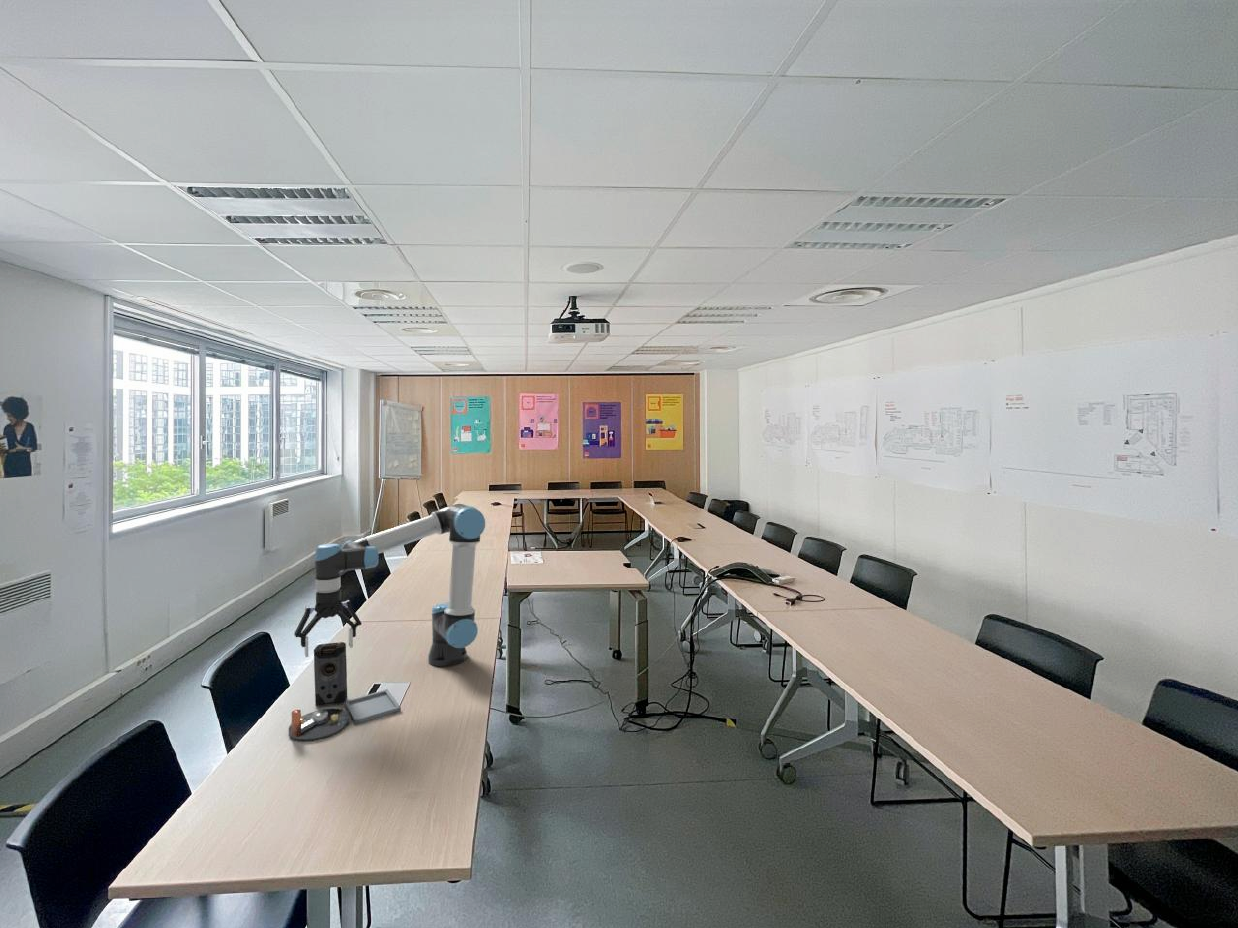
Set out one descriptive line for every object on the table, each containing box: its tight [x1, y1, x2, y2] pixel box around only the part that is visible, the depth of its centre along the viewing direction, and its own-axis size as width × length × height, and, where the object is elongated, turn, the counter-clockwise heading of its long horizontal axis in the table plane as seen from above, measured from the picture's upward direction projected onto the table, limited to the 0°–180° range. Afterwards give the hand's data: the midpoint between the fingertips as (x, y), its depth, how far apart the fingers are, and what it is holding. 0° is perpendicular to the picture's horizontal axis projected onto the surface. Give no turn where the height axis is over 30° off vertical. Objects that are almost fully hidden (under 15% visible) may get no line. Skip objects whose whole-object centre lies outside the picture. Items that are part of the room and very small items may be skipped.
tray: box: [343, 688, 402, 726], centre depth 183 cm, size 14×16×2 cm
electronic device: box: [313, 641, 348, 708], centre depth 187 cm, size 9×6×20 cm, turn 105°
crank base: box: [288, 708, 351, 743], centre depth 172 cm, size 17×17×4 cm
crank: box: [291, 709, 328, 736], centre depth 168 cm, size 11×4×7 cm, turn 159°
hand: (329, 651), depth 186 cm, fingers open, 13 cm apart
